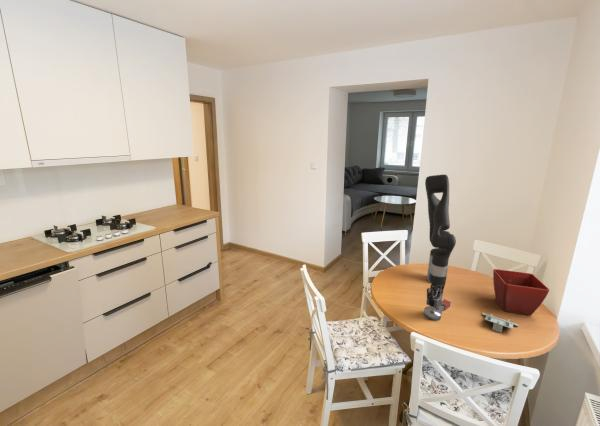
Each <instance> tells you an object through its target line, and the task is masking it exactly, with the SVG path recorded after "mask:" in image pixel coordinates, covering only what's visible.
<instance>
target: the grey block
mask: <svg viewBox="0 0 600 426" xmlns="http://www.w3.org/2000/svg"><path fill="white" fill-rule="evenodd" d="M433 293H434V292H433ZM434 294H435V293H434ZM443 295H444V294H443V293H442V294H441V293H437V296H435V299H434V306H433V307H434V308H438V307H439V306H441V302H442V301H443ZM426 305H427V306H429V299H427V298H426Z"/></svg>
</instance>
